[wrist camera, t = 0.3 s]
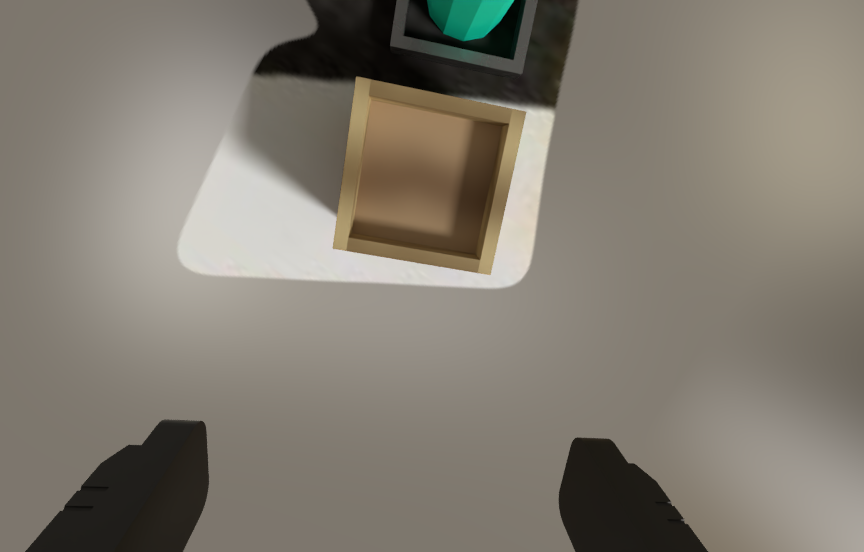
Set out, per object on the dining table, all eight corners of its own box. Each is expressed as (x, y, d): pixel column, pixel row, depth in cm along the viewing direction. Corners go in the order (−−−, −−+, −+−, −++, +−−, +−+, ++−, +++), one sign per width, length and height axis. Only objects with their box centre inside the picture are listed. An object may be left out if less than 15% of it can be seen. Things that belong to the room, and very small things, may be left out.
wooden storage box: (369, 102, 34) (356, 76, 24) (492, 126, 35) (526, 111, 25) (351, 226, 36) (332, 248, 26) (467, 246, 37) (490, 275, 27)
